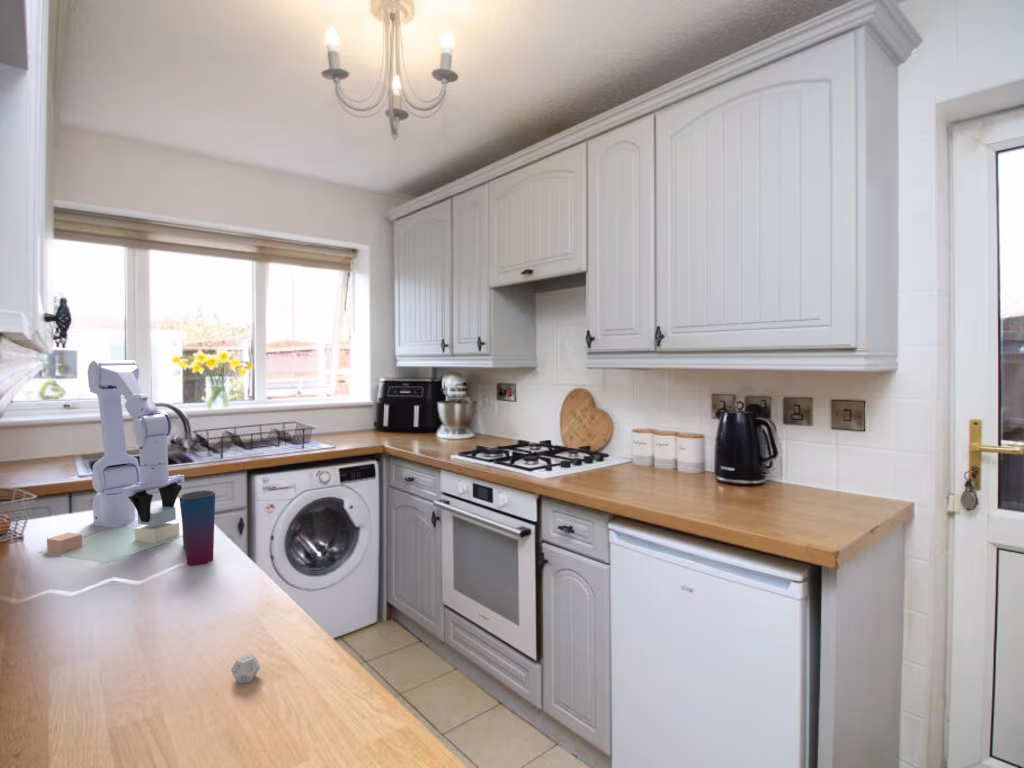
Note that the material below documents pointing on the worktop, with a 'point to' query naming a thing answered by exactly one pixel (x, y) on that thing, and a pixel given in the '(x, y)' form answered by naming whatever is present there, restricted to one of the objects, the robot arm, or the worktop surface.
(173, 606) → the worktop surface
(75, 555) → the baseplate
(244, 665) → the game die
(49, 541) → the brick
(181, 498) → the cup
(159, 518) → the brick
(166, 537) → the brick
